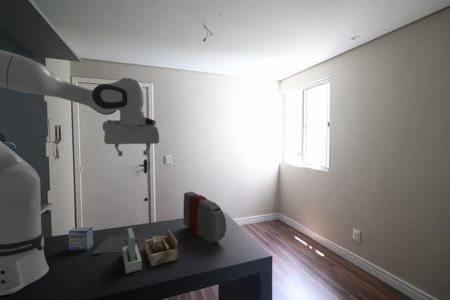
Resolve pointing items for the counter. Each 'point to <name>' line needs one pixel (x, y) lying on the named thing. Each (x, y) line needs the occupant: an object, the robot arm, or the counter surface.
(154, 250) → the offcut walnut
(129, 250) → the block
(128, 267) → the holder
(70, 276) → the counter surface
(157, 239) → the offcut pine
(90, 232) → the medicine box
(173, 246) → the rack
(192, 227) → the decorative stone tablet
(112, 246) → the play button award
